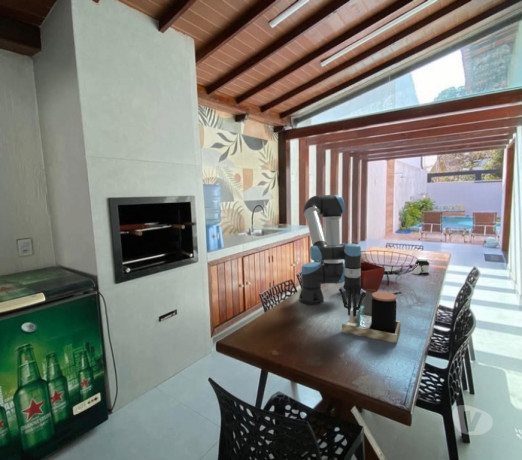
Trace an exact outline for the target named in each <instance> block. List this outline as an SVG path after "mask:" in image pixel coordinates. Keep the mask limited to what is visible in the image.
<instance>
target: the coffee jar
mask: <svg viewBox="0 0 522 460" xmlns="http://www.w3.org/2000/svg"><path fill="white" fill-rule="evenodd" d="M392 293H393V292H388V291H377V292H374V293H372V297H373V298H372V316H371V328H372V329H373V330H378V331H383V332H388V333H393V334H395V331H396V321H397V303H398V302H397V299H398V298H397V295H395V294H392Z"/></svg>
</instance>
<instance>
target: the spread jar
mask: <svg viewBox="0 0 522 460" xmlns="http://www.w3.org/2000/svg"><path fill="white" fill-rule="evenodd" d="M418 263H419V265H418V266H417V267H416V268H415V269H414V270H413V271H412V270H411V273H412V274H414V275H426V274H428V273H429V272H430V262H429V261H428V258H427V257H417V260H416V261H415V262H414V265H415V264H418Z"/></svg>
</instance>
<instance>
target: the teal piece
mask: <svg viewBox="0 0 522 460" xmlns="http://www.w3.org/2000/svg"><path fill="white" fill-rule="evenodd" d="M356 314H357V325H356V326H357V327H362V328H367V329H372V328H371V317H367V316H364V306H361V308H360V309H359V310H357V312H356Z"/></svg>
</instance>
